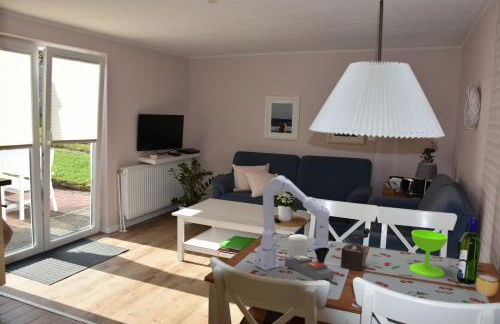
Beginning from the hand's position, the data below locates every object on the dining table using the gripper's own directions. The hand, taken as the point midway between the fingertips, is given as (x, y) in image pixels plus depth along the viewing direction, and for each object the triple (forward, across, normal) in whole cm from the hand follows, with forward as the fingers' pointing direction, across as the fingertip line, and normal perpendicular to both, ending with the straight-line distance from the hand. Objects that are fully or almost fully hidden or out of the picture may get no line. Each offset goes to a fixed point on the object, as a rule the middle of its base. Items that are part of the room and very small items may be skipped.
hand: (320, 263), depth 186 cm
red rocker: (0, -3, 0) cm, 3 cm away
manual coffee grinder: (+6, +24, 0) cm, 25 cm away
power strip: (+5, -3, +2) cm, 6 cm away
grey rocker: (0, -3, +10) cm, 11 cm away
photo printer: (+5, +5, +22) cm, 23 cm away
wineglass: (+6, +49, -23) cm, 54 cm away
